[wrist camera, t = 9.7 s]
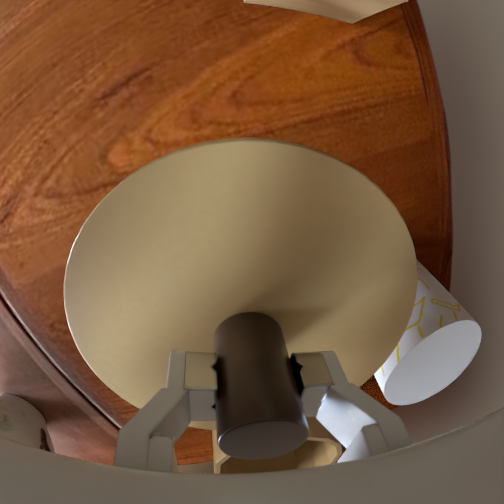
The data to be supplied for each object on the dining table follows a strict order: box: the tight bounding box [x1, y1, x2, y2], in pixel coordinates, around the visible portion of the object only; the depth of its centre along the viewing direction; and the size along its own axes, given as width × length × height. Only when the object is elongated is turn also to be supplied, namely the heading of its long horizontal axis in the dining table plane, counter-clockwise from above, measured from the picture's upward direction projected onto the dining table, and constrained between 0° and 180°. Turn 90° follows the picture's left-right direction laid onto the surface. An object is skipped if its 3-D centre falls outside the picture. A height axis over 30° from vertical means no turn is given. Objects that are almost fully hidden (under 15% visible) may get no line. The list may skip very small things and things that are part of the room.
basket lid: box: [64, 137, 418, 460], centre depth 10 cm, size 14×14×6 cm
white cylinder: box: [374, 261, 481, 405], centre depth 23 cm, size 8×8×12 cm
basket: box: [212, 417, 342, 474], centre depth 31 cm, size 13×13×10 cm
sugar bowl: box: [0, 394, 55, 453], centre depth 28 cm, size 20×15×15 cm
